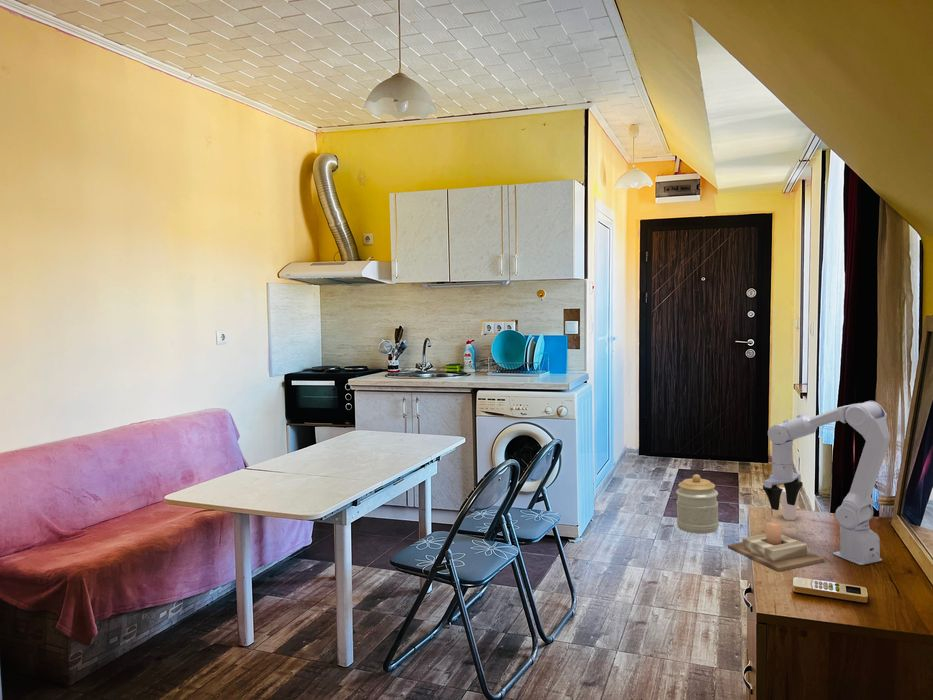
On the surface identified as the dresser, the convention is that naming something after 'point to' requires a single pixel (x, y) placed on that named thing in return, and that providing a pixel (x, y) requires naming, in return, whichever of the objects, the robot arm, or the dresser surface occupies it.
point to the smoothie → (788, 506)
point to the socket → (776, 552)
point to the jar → (697, 506)
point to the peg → (773, 533)
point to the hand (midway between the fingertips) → (783, 506)
